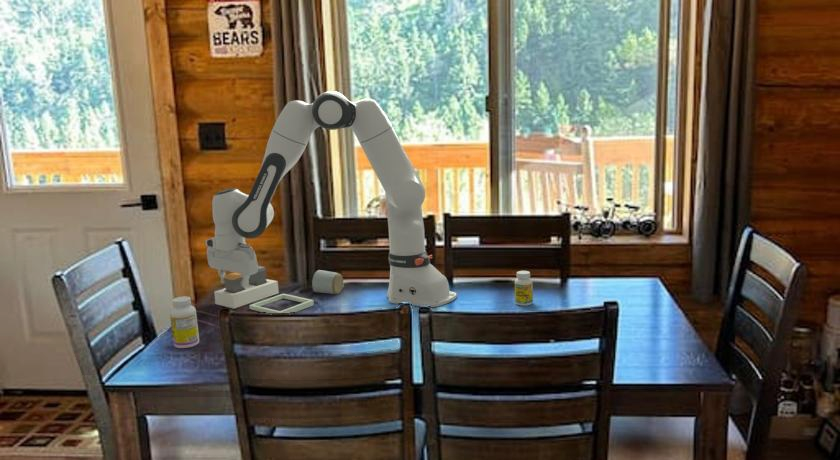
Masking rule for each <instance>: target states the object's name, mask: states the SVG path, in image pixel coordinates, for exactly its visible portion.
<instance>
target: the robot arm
mask: <svg viewBox="0 0 840 460" xmlns="http://www.w3.org/2000/svg"><path fill="white" fill-rule="evenodd" d="M319 127H321V128H322V129H325V130H328V131H329V130H330V131H335V130H339V129H346V128H349V129H351V130H352V132H353V133H354V135H355V137H356V139H357V141H358V143H359V144H360V146H361V148H362V150H363V153H364V154H365V156H366V158H367V160H368V162H369V164H370V167H371V168H372V169H373V171H374V173H375V176H376V177H377V179H378V181H379V182H380V185H381V186H382V188H383V190H384V192H385V193H384V194H385V195H384V196H385V204H386V206H385V208H386V216H387V226H388V240H389V241H388V243H389V252H388V264H389V269H390V270H389V280H388V281H389V282H388V289H387V294H386V297H387V298H388V303H390V304H398V303H402V302H408V303H409V302H410V304H412V305H411V306H415V305H417V306H416V307H422V306H421V305H425V306H428V305H429V306H431V307H430V308H434V307H435V308H436V307H440V306H442V305H446V304H448V303H450V302H453V301H454V300H455V299H457V297H458V296H457V294H458V293H457V292H455V291H450V286H449V281H448V278H447V277H446V276H445V275H444V274H442V273H441V272H440V271H439V270H438V269H437V268H436V267H435V266H434V265H433V264H431V259H433V254H430V255H428V253H427V250H426V243H425V241H426V239H425V223H424V217H423V210H422V205H423V203H424V201H425V199H426V189H425V186H424V184H423V182H422V180H421V178H420V177H419V174H418V172H417V170H416V168H415V167H414V165H413V163H412V161H411V160H410V158H409V156H408V155H407V153H406V151H405V149H404V147H403V145H402V143H401V141H400V139H399V137H398V135H397V133H396V131H395V129H394V128H393V125H392V123H391V121H390V119H389V118H388V116H387V114H386V113H385V111H384V110H383V109H382V108H381V106H380V105H379V103H377V101H376V100H375V99H373V98H362V99H360V100H357V101H355V102H352V101H350V100H349V99H348V97H347V96H346V95H344V94H343V93H341V92H340V91H336V90H335V91H334V90H328V91H324V92H322V93H320V94H319V95H318V96H317V97H316V99H314V100H313V101H311V102H310V103H308V102H305V101H302V100H297V99H296V100H291V101H289V102H287V103H286V104H285V106H284V107H283V109H282V110H281V112H280V114H279V115H278V117H277V120H276V121H275V123H274V125H273V127H272V129H271V132H270V135H269V137H268V141H267V143H266V147H265V153H264V155H263V159H262V163H261V166H260V169H259V172H258V174H257V177H256V179H255V181H254V183H253V185H252V188H251V189H250V191H249V194H246V193H244V192H242V191H241V190H239V189H238V188H235V187H233V188H227V189H223V190H221V191H217V192H216V193H214V195H213V198H212V200H211V201H212V204H211V205H212V206H211V207H212V219H213V223H214V237H213V236H212V237H211V238H207V239H205V246H206V247H207V248H206V257H207V263H208V266H209V267H210V269H216V270H217V274H218V275H219V277H220V281H221V284H225V277H224V275H227V274H226V272H230V273H234V272H235V273H239V274H242V277H243V280H242V281H241V282H240V284H241V287H244V288H245V287H248V280H249V278H250V275H252V274H256V273H257V271H258V266H259V265H258V260H257V255H256V252H255V250H254V248H253V247H252V246H251V245H250V244H247V243H246V239H256V238H259V237H260V236H261V235H263V233H264V232H265V230H266V229H267V227H268V226H269V225H270V224H271V222H272V221H273V220H274V216H275V210H274V206H273V205H272V203H271V201H272V199H273V196H274V195H275V192H276V191H277V187H278V185H279V184H280V182H281V181H282V180H283V177H285V175H286V174H287V173H288V172H289V171H291V169H292V168H294V166H295V165H296V164H297V163H298V161H299V160H300V158H301V157H302V155H303V153H304V152H305V150H306V147H307V146H308V143H309V140H310V139H311V136H312V134H313V133H314V131H315V130H316V129H317V128H319ZM398 305H399V304H398Z"/></svg>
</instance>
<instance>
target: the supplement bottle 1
mask: <svg viewBox="0 0 840 460" xmlns="http://www.w3.org/2000/svg"><path fill="white" fill-rule="evenodd" d="M171 301H172V306H173V308H171V310H170V312H169V317H170V326H171V334H172V341H173V346H174V347H175V348H178V349H188V348H192V347H195V346H197V345H198V344H200V343H199V342H200V334H199V325H198V317H197V310H196V307H195V306H194V305H192V299H191V297H190V296H178V297H175V298H173V299H172V300H171Z"/></svg>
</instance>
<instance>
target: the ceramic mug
mask: <svg viewBox="0 0 840 460" xmlns="http://www.w3.org/2000/svg"><path fill="white" fill-rule="evenodd" d="M311 286H312V291H313V292H314V293H321V294H330V295H338V294H340V293H341V292H342V291H343V288H344V287H345V284H344V278H343V276H342V274H340V273H339V272H335V271H328V270H324V269H323V270H321V269H318V270H316V271H315V272H314V273H313V276H312V280H311Z"/></svg>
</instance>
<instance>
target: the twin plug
mask: <svg viewBox="0 0 840 460" xmlns="http://www.w3.org/2000/svg"><path fill="white" fill-rule="evenodd" d="M266 279H267V271H266V266H261V265H258V271H257V273H256V274H252V275H250V278H249V280H248V282H249V285H254V286H258V285H262V284H265V283H267V281H266Z"/></svg>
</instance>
